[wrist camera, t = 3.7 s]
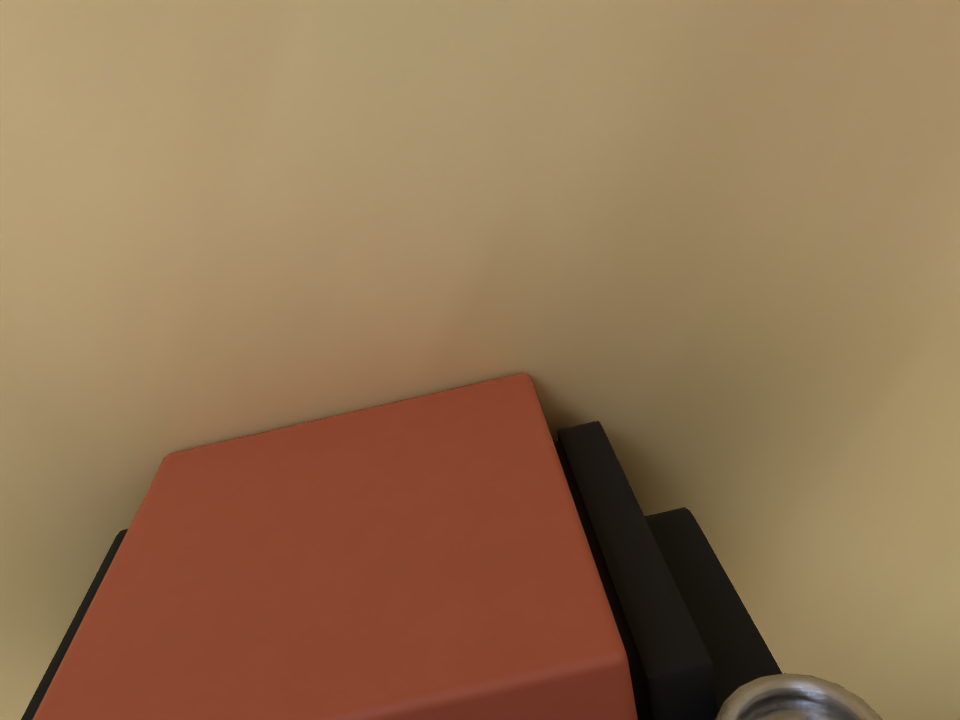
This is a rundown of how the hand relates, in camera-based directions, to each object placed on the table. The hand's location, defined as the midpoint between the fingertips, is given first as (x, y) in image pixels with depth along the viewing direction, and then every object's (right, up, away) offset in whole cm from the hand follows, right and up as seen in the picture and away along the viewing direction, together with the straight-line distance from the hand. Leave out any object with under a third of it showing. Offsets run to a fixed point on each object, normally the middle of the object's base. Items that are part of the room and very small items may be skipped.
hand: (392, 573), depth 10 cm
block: (0, 0, 0) cm, 0 cm away
